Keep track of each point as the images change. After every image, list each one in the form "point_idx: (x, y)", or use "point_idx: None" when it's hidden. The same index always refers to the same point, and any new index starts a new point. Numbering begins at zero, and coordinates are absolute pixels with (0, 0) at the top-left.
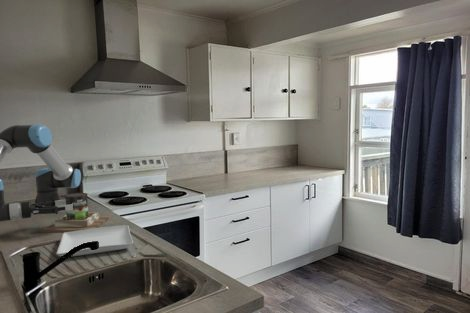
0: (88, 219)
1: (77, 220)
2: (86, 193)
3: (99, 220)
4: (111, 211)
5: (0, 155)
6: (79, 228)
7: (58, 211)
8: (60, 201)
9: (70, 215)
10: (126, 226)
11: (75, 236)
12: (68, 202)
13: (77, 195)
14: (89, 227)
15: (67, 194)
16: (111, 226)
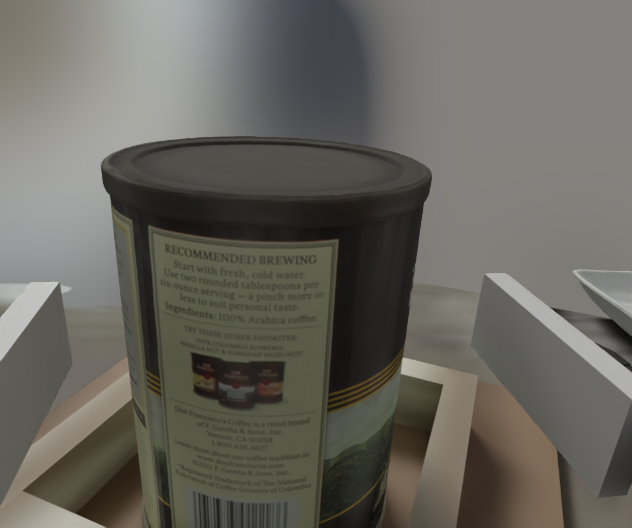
0: (442, 367)
1: (458, 433)
2: (250, 137)
3: None
4: (4, 307)
5: None
6: (524, 476)
7: (619, 479)
8: (3, 385)
9: (381, 448)
10: (583, 277)
11: None
12: (387, 286)
13: (323, 161)
14: (498, 414)
15: (148, 182)
16: (620, 305)
